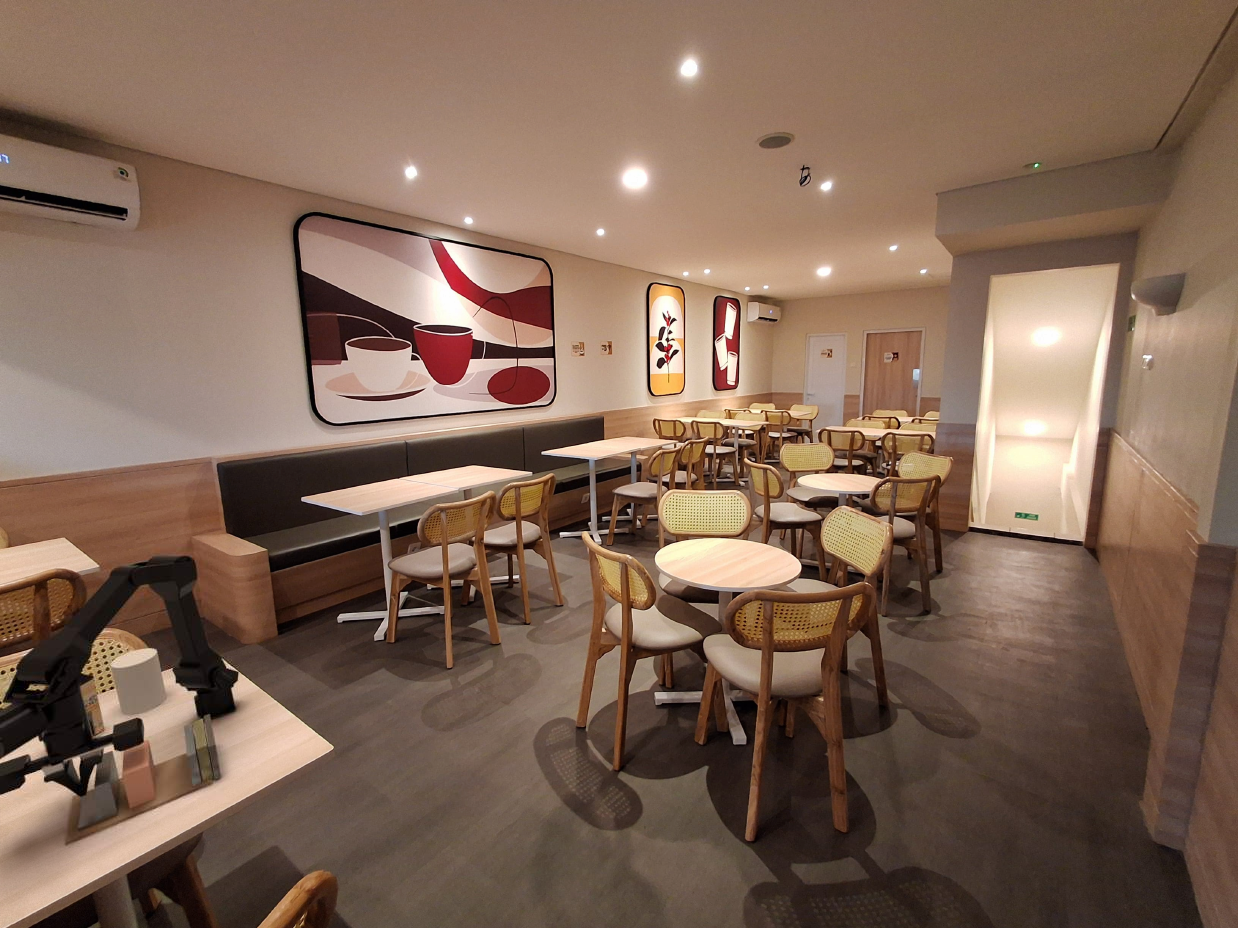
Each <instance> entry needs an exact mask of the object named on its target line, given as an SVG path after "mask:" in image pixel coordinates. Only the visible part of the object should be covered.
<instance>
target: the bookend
mask: <svg viewBox="0 0 1238 928" xmlns="http://www.w3.org/2000/svg"><path fill="white" fill-rule="evenodd" d="M113 751H114V750H110V751H108V752H105V753H103V761H102V762H101V763H99V764H97V765H96V768H95V769H96V770H95V777H94V785H93V789H94V790H91V789H90V790H91V791H89V790H88V791H89V792H87V794H86V795H85V796H83V798H82V805H81V812H80V819H79V825H78V830H79V831H81V830H83V829H86V828H88V827H91V826H93V825H95V824H98V823H100V822H103V821H105V820H107V819H110V818H112V817H115V816H117V815H118V806H119V790H120V780H119V779H120V777H119V774H118V768H117V764H116V759H115V756H114V752H113Z"/></svg>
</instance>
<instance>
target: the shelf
mask: <svg viewBox="0 0 1238 928" xmlns="http://www.w3.org/2000/svg"><path fill="white" fill-rule="evenodd" d="M204 721H205V722H203V719H201V718H200V719H197V720H194V721H192V723H190V724H189V723H188V724H187V725H184V726H183V732H184V741H185V749H186V753H183V754H180V755H178V756H175V757H173V758H172V757H171V758H170V759H168V760H165V761H163V762H159V763H157V764H154V767H155V777H156V798H155V799H153V800H150V801H148V802H146V803H143V804H141V805H138V806H136V807H133V808H131V809H130V807H129V802H128V798H127V794H126V790H125V785H124V781H123V777H121V778H120V777H119V780H120V790H119V806H118V815H117V816H115V817H112V818H110V819H107V820H105V821H103V822H100V823H98V824H95V825H93V826H91V827H88V828H86V829H83V830H81V831H79V830H78V825H79V819H80V812H81V805H82V798H83V797H79V796H78V795H77V794H75V795H73V796H72V799H71V805H70V811H69V817H68V821H67V829H66V835H65V841H64V845H65V846H67V845H70V844H73V843H75V842H77V841H80V840H82V839H84V838H87V837H90V836H91V835H94V834H97V833H99V832H101V831H103V830H106V829H108V828H111V827H113V826H116V825H118V824H119V823H123V822H124V821H127V820H129V819H132V818H134V817H137V816H139V815H142V814H144V813H147V812H149V811H151V810H153V809H156V808H158V807H161V806H163V805H165V804H167V803H170V802H172V801H176V800H177V799H180V798H182V797H185V796H186V795H189V794H191V793H194V792H196V791H198V790H201V789H203V788H206V787H208V786H210V785H213V779H212V778H214V779H217V778H220V777H222V774H221V773H222V771H221V768H220V762H219V756H218V751H217V745H216V740H215V735H214V730H213V724H212V719H211V718H210V714H208V715H205V716H204ZM91 790H94V788H91V789H89V790H87V792H89V791H91Z"/></svg>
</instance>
